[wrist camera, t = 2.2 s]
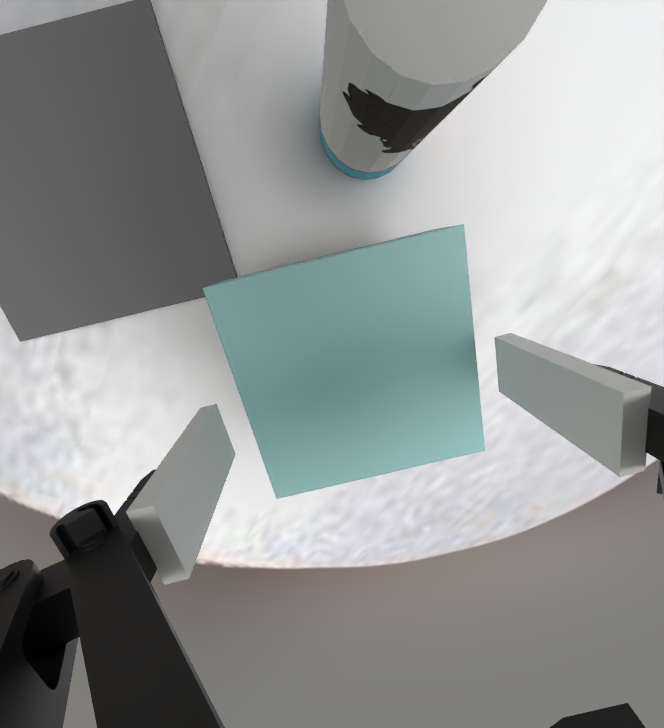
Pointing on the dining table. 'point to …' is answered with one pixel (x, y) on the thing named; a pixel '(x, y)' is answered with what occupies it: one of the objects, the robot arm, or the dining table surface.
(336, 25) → the printed grey cylinder
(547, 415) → the robot arm
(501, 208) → the dining table surface
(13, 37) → the mat
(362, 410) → the lid
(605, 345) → the dining table surface
